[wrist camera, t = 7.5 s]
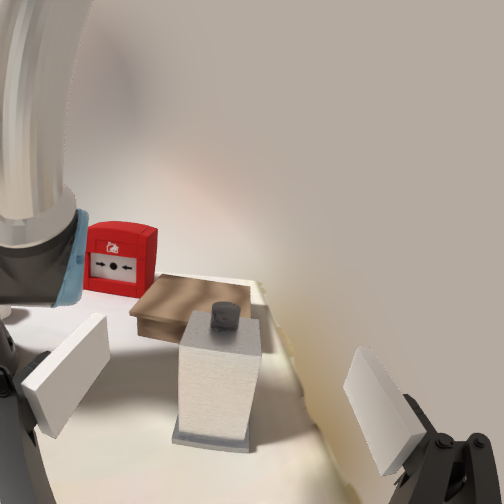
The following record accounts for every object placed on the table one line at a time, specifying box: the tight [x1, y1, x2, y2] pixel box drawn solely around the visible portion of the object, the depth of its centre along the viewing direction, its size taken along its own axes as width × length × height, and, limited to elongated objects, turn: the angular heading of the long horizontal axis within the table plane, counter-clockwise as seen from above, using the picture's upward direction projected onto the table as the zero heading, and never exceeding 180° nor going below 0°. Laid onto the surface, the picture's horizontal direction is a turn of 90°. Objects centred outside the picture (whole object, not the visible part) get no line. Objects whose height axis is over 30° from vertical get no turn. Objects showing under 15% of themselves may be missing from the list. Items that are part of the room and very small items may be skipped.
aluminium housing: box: [172, 301, 262, 453], centre depth 28 cm, size 8×8×15 cm
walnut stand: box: [129, 274, 251, 343], centre depth 54 cm, size 20×20×5 cm
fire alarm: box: [83, 221, 158, 298], centre depth 61 cm, size 16×11×15 cm
